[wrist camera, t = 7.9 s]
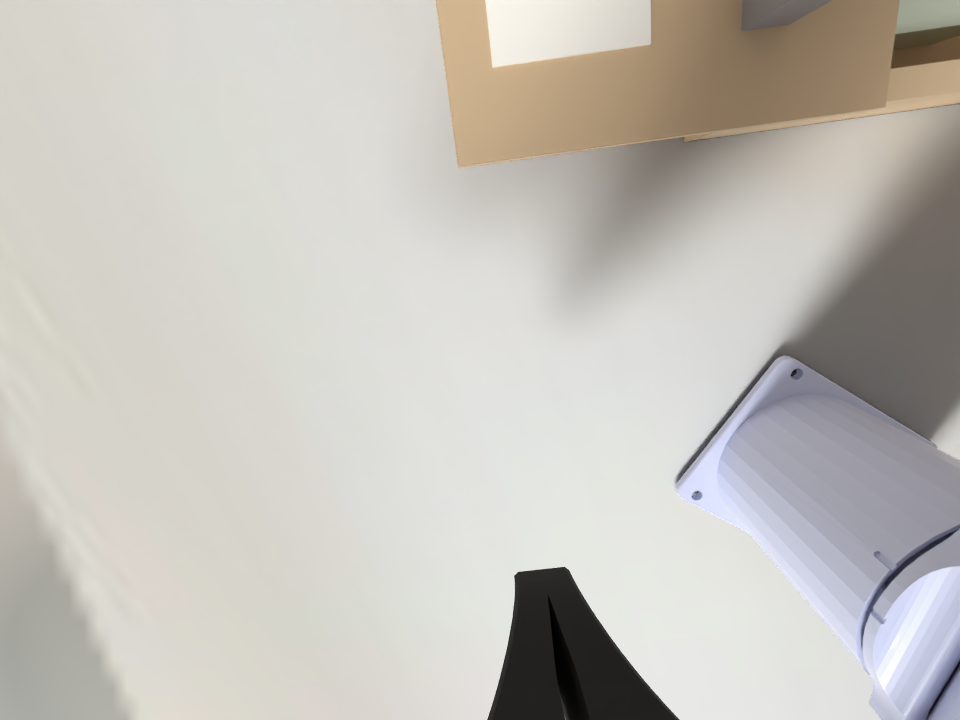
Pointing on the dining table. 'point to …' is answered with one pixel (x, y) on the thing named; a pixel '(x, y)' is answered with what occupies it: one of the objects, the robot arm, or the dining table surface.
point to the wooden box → (907, 65)
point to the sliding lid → (653, 69)
